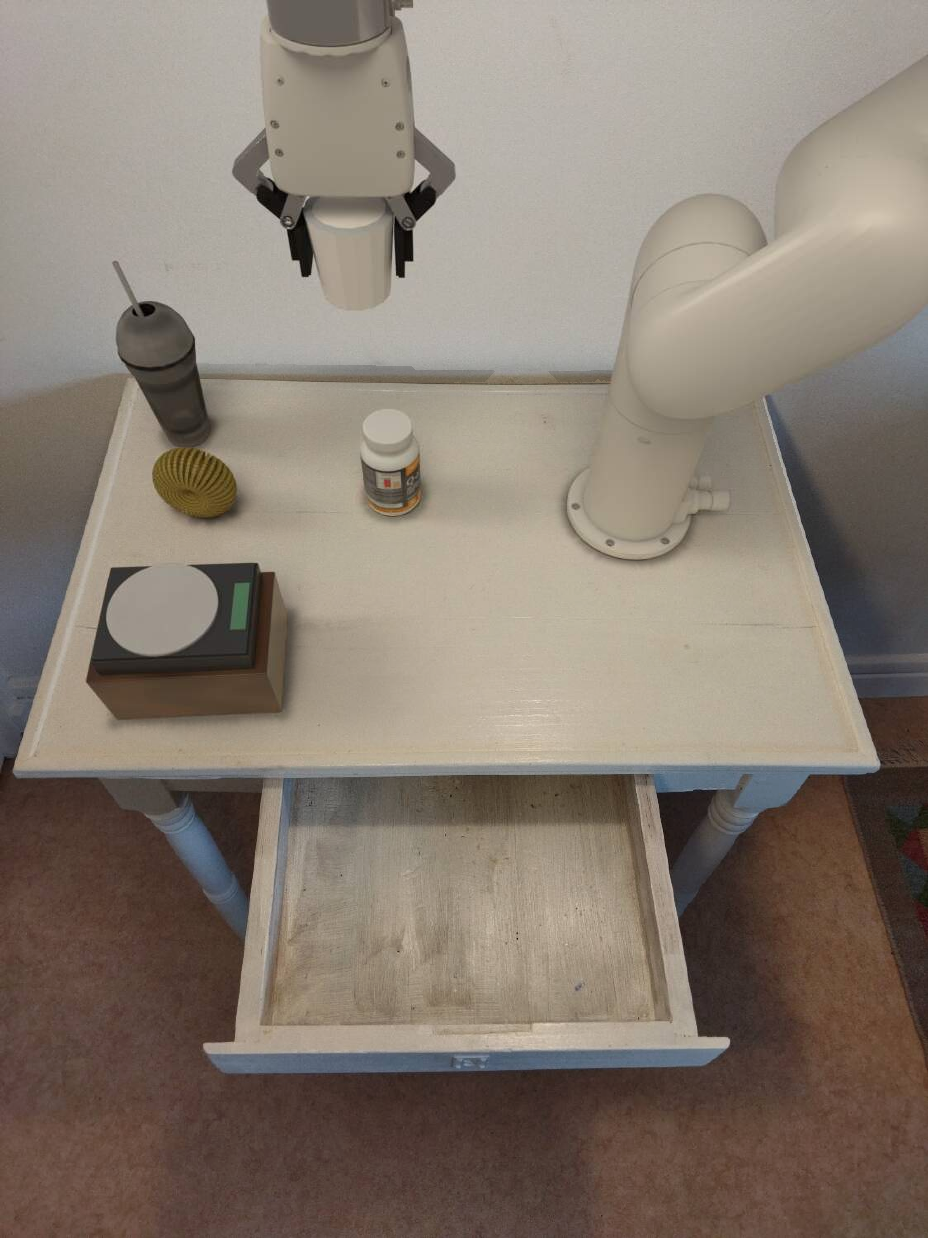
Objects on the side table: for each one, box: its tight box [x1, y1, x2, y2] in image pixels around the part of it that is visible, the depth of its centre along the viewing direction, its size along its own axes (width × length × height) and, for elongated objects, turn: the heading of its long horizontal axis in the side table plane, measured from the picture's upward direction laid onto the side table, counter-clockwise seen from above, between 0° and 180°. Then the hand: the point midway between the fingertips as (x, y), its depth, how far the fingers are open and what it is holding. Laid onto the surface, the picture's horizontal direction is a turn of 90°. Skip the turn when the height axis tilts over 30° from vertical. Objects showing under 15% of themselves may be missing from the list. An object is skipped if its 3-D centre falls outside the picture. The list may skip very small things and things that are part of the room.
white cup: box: [303, 196, 394, 312], centre depth 62 cm, size 7×7×7 cm
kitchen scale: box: [89, 562, 262, 675], centre depth 63 cm, size 12×9×3 cm
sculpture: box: [151, 447, 238, 519], centre depth 76 cm, size 8×4×8 cm, turn 82°
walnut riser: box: [85, 571, 289, 720], centre depth 67 cm, size 14×10×7 cm
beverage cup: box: [111, 260, 211, 448], centre depth 77 cm, size 7×7×20 cm
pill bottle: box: [359, 408, 422, 517], centre depth 77 cm, size 6×6×10 cm
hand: (354, 265), depth 63 cm, fingers closed on white cup, 6 cm apart
